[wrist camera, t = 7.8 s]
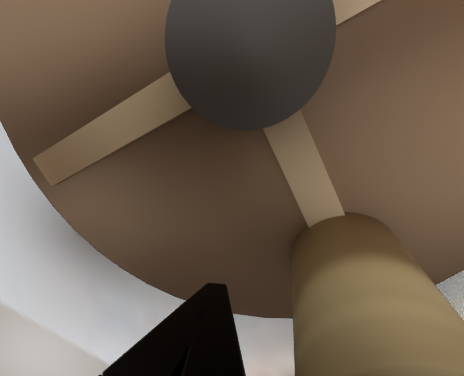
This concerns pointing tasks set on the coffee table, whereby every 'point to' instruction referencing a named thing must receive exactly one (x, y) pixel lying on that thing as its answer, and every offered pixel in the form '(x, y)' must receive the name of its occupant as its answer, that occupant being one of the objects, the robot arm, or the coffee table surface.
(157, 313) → the coffee table surface
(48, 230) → the coffee table surface
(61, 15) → the handwheel
